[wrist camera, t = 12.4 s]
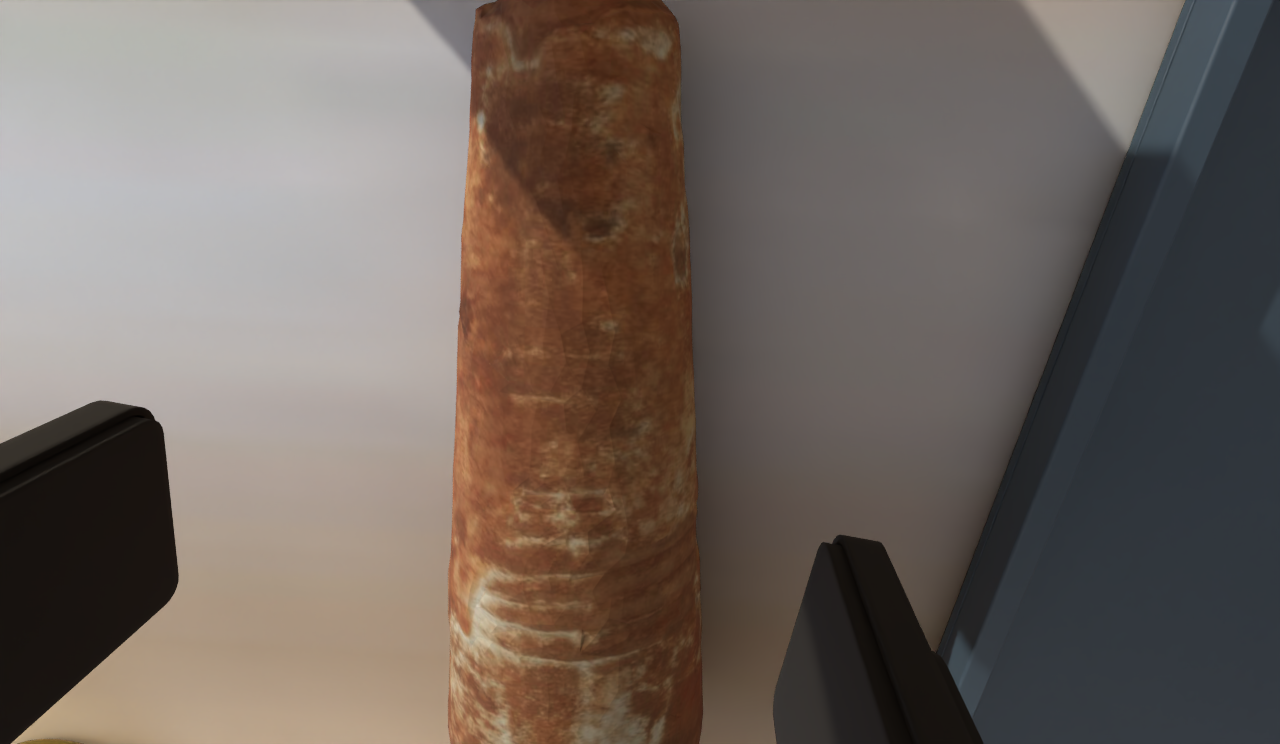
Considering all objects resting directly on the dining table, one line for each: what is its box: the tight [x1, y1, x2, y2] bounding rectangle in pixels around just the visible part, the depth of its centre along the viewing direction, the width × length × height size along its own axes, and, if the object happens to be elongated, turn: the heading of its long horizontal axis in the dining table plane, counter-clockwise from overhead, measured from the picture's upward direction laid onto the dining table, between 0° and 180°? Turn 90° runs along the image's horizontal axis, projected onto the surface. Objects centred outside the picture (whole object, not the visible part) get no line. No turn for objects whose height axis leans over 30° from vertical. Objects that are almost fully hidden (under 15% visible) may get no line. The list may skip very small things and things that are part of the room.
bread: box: [448, 0, 703, 744], centre depth 14 cm, size 6×19×6 cm, turn 177°
